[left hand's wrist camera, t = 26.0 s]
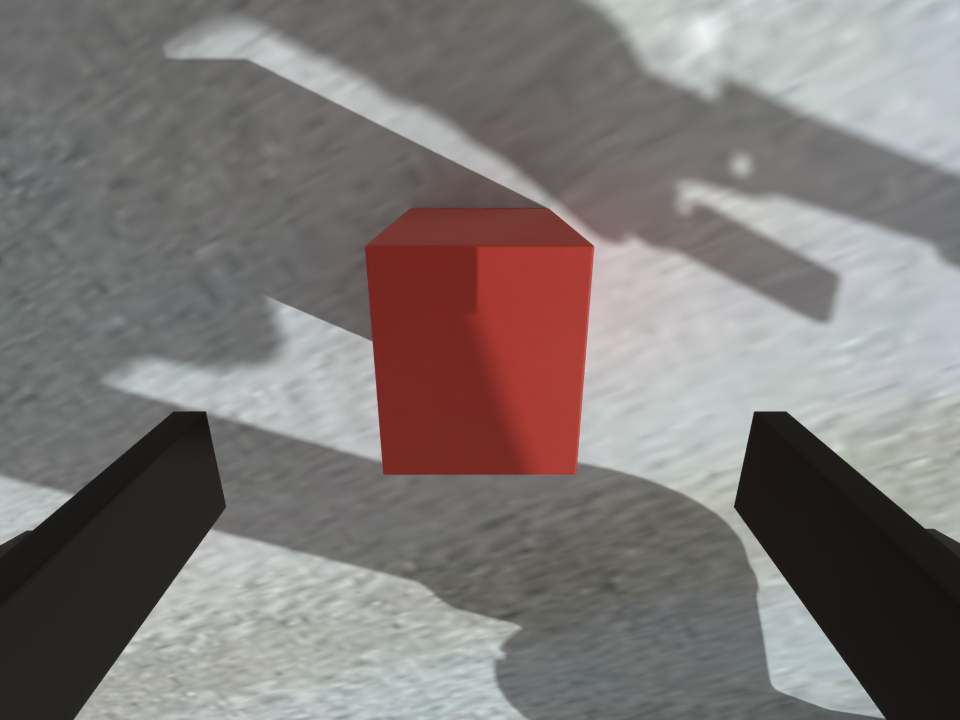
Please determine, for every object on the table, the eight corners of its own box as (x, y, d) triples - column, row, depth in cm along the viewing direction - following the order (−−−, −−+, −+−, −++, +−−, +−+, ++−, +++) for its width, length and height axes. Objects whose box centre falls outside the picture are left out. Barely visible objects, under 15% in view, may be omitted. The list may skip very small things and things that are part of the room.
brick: (416, 361, 31) (382, 475, 20) (409, 208, 27) (364, 245, 17) (542, 361, 31) (576, 475, 20) (549, 208, 27) (594, 245, 17)
